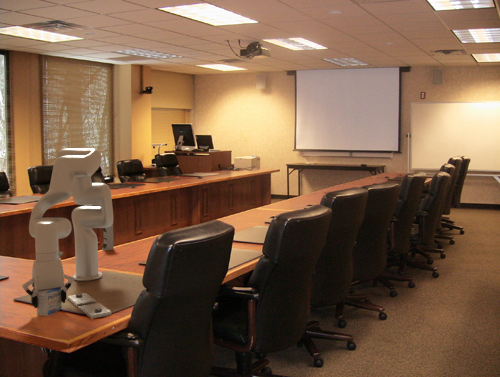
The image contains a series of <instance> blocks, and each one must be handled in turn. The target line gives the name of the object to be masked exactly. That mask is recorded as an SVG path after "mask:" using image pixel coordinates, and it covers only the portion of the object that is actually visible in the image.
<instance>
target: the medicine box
mask: <svg viewBox="0 0 500 377" xmlns="http://www.w3.org/2000/svg"><path fill="white" fill-rule="evenodd" d="M36 296H37V306H38V307H37V308H36V312H37V316H42V317H43V316H45V317H49V316H52V315H53V314H55V313H57V312H59V311H61V310H62V309H63V307H62V306H63V305H62V304H63V302H61V287H59V288H53V289H47V290H39V291H38V293H37V294H36ZM61 308H62V309H61ZM60 309H61V310H60Z"/></svg>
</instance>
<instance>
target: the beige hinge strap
mask: <svg viewBox="0 0 500 377" xmlns="http://www.w3.org/2000/svg"><path fill="white" fill-rule="evenodd" d="M66 297H67V300H68V299H69V300H70V301H72V302H73V303H74V304H75V305H76V306H77V307H76V306H75V305H74V304H73V303H72V302H71V303H72V304H73V305H74V306H75V307H76V308H78V306H80V309H81V310H82V311H83V312H82V311H81V310H80V309H79V310H80V311H81V312H82V313H83V314H85V313H86V314H87V315H86V314H85V315H86V316H87V317H88V318H90V319H91V320H93V319H98V318H104V317H108V316H112V310H110V309H109V308H107V307H106V306H104V305H103V304H101V303H100V302H97V300H96V299H94V298H93V297H92V296H90V295H89V294H88V293H86V292H83V293H77V294H72V295H68V296H67V295H66ZM69 300H68V301H69ZM70 301H69V302H70ZM84 305H85V306H84Z"/></svg>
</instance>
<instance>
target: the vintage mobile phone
mask: <svg viewBox="0 0 500 377" xmlns="http://www.w3.org/2000/svg"><path fill="white" fill-rule="evenodd" d="M101 229H102V237H103V244H102V247H101V249H102V251H105V252H106V251H112V250H114V249H115V248H114V223H113V224H112V225H111V226H110V227H108V228H101Z"/></svg>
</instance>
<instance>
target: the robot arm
mask: <svg viewBox="0 0 500 377" xmlns="http://www.w3.org/2000/svg"><path fill="white" fill-rule="evenodd" d="M101 155H102V154H101V153H100V151H99V150H98V149H97V148H76V147H73V148H61V149H59V150H58V151H57V152H56V159H55V161H54V162H53V167H52V173H51V178H50V183H49V188H48V191H47V192H46V193H44V194H43V195H42V196H41V197H40V198H39V199H38V200H37V202H36V203H35V204H34V205H33V207H32V210H31V213H30V219H29V224H28V231H29V235H30V236H31V237H32V238H34V241H35V243H34V245H35V247H34V248H35V260H34V261H33V262H32V272H31V279H29V280H28V281H26V282H25V283H23V284H22V285H21V287H22V288H23V290H24V291H25V293H26V294H28V295H29V296H30V299H31V300H30V301H31V306H32V307H33V308H34V309H37V307H38V306H37V296H36V294H37V293H38V291H39V290H47V289H53V288H59V287H61V302H62V304H65V303H66V300H68V298H67V292H68V289H70V287H71V286H72V283H73V282H74V281H79V282H80V281H83V282H84V281H85V282H86V281H94V280H98V279H100V278H102V277H103V273H102V272H101V271H99V249H98V248H99V246H98V245H99V244H98V236H97V234H96V232H95V231H94V230H93V229H102V228H108V227H110V226H111V225H112V224H113V225H114V210H113V209H114V208H113V201H112V200H113V198H112V191H111V188H110V186H109V184H106V183H104V182H93V181H92V176H94V174H95V173H96V172H97V171H98V170H99V168H100V166H101V163H102V156H101ZM71 198H72V201H73V202H74V204H76V205H77V206H78V205H80V206H78V207H75V208H74V209H73V210H72V211H71V221H70V220H69V219H68V218H66V217H43V216H44V214H45V213H46V211H48V210H49V209H50V208H52V207H54V206H56V205H58V204H60V203H62V202H64V201H65V202H66V201H67V200H69V199H71ZM72 225H73V226H72ZM72 228H73V229H72ZM72 230H73V232H74V233H73V234H74V251H75V253H74V254H75V273H74V274H73V275H72V276H70V275H68V274H65V273H64V266H63V263H62V259H61V256H63V255H64V252H63V251H60V249H59V248H60V247H59V240H60V239H64V238H68V237H69V235H70V234H71V233H72ZM65 280H68V281H67V282H66V283H65ZM30 286H32V289H30V288H29V287H30Z"/></svg>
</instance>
